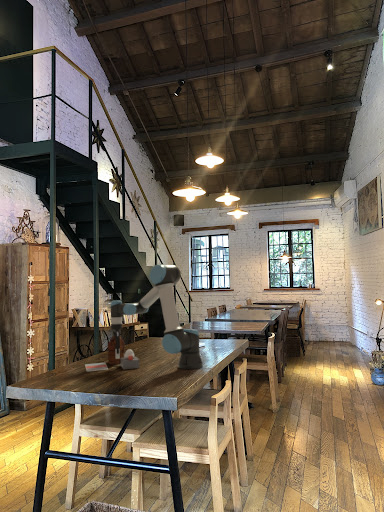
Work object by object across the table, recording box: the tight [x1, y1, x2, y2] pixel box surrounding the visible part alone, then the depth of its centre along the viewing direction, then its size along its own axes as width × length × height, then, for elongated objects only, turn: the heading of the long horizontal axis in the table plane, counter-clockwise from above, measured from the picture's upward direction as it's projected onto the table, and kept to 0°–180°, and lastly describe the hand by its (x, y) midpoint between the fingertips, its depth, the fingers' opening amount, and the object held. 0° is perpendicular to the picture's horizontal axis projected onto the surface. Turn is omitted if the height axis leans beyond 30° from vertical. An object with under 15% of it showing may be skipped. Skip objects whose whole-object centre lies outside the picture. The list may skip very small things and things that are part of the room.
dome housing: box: [120, 356, 140, 370], centre depth 239 cm, size 12×10×7 cm
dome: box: [123, 348, 135, 359], centre depth 241 cm, size 6×6×5 cm
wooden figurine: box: [107, 335, 126, 365], centre depth 254 cm, size 12×6×18 cm, turn 148°
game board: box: [84, 362, 109, 372], centre depth 241 cm, size 22×13×1 cm, turn 18°
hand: (116, 357), depth 254 cm, fingers closed on wooden figurine, 9 cm apart
